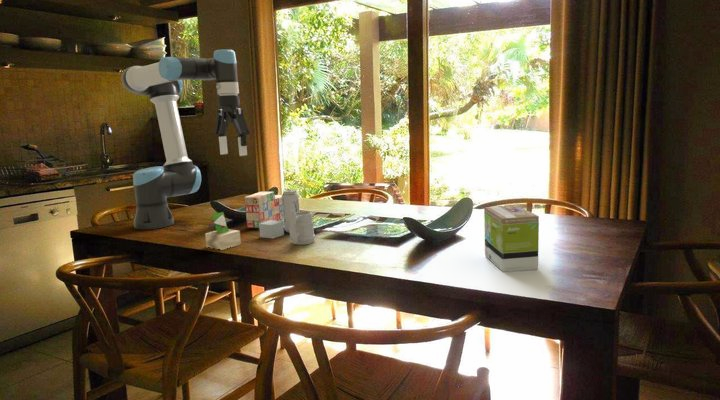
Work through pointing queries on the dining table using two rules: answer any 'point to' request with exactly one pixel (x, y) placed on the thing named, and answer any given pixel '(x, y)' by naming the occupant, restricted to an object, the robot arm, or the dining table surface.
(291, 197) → the energy drink can
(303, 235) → the mug
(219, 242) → the beech block
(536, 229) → the tea box
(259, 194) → the stack of blocks
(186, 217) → the dining table surface
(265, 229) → the grey block
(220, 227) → the geometric puzzle
